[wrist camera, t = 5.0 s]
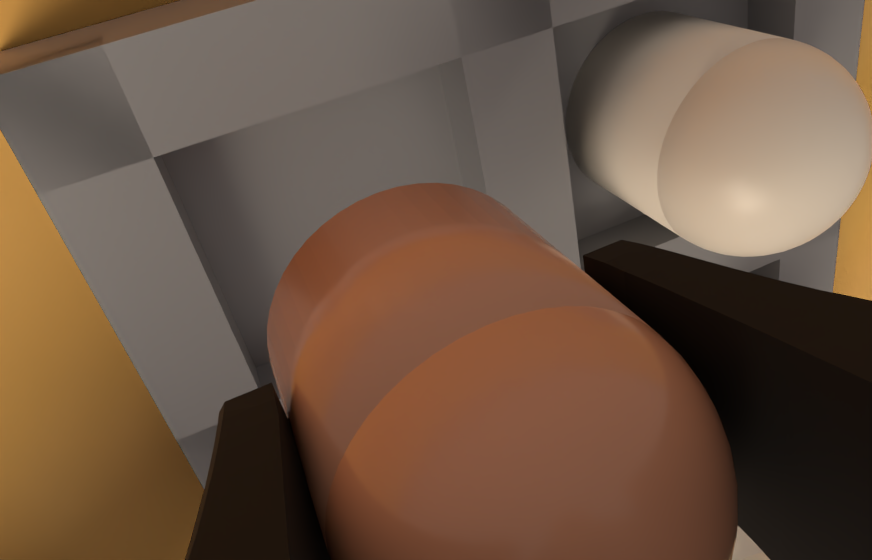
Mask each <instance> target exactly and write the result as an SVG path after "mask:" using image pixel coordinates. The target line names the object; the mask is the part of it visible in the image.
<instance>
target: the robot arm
mask: <svg viewBox="0 0 872 560" xmlns="http://www.w3.org/2000/svg"><path fill="white" fill-rule="evenodd" d="M583 262H584V270H585V273H586V274H588V275H589V276H590V277H591V278H592V279H594V280H595V281H596V282H597V283H598V284H600V285H601V286H602V287H603V288H604V289H606V290H607V291H608V292H609V293H610V294H612V295H613V296H614V297H615V298H616V299H618V300H619V301H620V302H621V303H622V304H624V305H625V306H626V307H627V308H628V309H630V310H631V311H632V312H633V313H634V314H636V315H637V316H638V317H639V318H640V319H642V320H643V321H644V322H645V323H646V324H648V325H649V326H650V327H651V328H652V329H654V330H655V331H656V332H657V333H658V334H659V335H661V336H662V337H663V338H664V339H665V340H666V341H667V342H668V343H669V344H670V345H671V346H672V347H673V348H674V349H675V350H676V351H677V352H678V353H679V354H680V355H681V356H682V357H683V358H684V360H685V361H686V362H687V364H688V365H689V366H690V367H691V369H692V370H693V371H694V373H695V374H696V376H697V377H698V378H699V380H700V381H701V382H702V384H703V385H704V387H705V388H706V390H707V392H708V394H709V396H710V398H711V400H712V402H713V404H714V406H715V408H716V410H717V412H718V414H719V416H720V418H721V420H722V422H723V425H724V428H725V432H726V435H727V438H728V441H729V444H730V448H731V451H732V455H733V459H734V464H735V471H736V478H737V485H738V526H739V527H740V528H741V529H742V530H743V531H744V532H745V533H746V534H747V535H748V536H749V537H750V538H751V539H752V540H753V541H754V542H755V544H756V545H757V546H758V547H759V548H760V549H761V550H762V551H763V552H764V553H765V555H766V556H767V557H768V558H769V559H770V560H872V301H870V300H865V299H860V298H856V297H851V296H846V295H842V294H837V293H832V292H827V291H823V290H818V289H814V288H809V287H805V286H801V285H797V284H793V283H788V282H784V281H780V280H776V279H772V278H768V277H764V276H761V275H757V274H753V273H749V272H745V271H741V270H738V269H734V268H730V267H727V266H723V265H719V264H716V263H712V262H708V261H705V260H701V259H697V258H694V257H690V256H686V255H683V254H679V253H675V252H672V251H668V250H664V249H660V248H656V247H652V246H648V245H644V244H640V243H636V242H631V241H626V240H619V241H617V242H614V243H612V244H609V245H607V246H604V247H602V248H599V249H597V250H595V251H592V252H590V253H587V254H585V255H583ZM185 560H331V559H330V557H329V554H328V551H327V547H326V544H325V541H324V538H323V534H322V531H321V528H320V524H319V521H318V518H317V515H316V511H315V508H314V505H313V502H312V498H311V495H310V492H309V488H308V485H307V481H306V477H305V473H304V470H303V466H302V463H301V460H300V456H299V453H298V450H297V447H296V443H295V440H294V437H293V434H292V430H291V427H290V424H289V421H288V418H287V416H286V413H285V411H284V409H283V407H282V405H281V402H280V400H279V398H278V396H277V393H276V391H275V389H274V387H273V385H272V383H269V384H267V385H264V386H262V387H259V388H257V389H254V390H252V391H250V392H247V393H245V394H242V395H240V396H237V397H235V398H232V399H230V400H228V401H225V402H224V404H223V406H222V408H221V410H220V411H219V417H218V425H217V431H216V437H215V442H214V448H213V453H212V458H211V462H210V467H209V471H208V476H207V480H206V484H205V489H204V493H203V496H202V500H201V504H200V508H199V511H198V515H197V519H196V522H195V526H194V530H193V534H192V537H191V541H190V544H189V548H188V551H187V554H186V558H185Z"/></svg>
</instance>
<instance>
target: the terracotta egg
mask: <svg viewBox="0 0 872 560" xmlns="http://www.w3.org/2000/svg"><path fill="white" fill-rule="evenodd" d="M267 347H268V353H269V359H270V364H271V367H272V370H273V374H274V377H275V380H276V383H277V387H278V390H279V393H280V396H281V400H282V403H283V406H284V410H285V413H286V416H287V418H288V421H289V424H290V427H291V430H292V434H293V437H294V440H295V443H296V447H297V450H298V453H299V456H300V460H301V463H302V466H303V470H304V473H305V477H306V481H307V485H308V488H309V492H310V495H311V498H312V502H313V505H314V508H315V511H316V515H317V518H318V521H319V524H320V528H321V531H322V534H323V538H324V541H325V544H326V547H327V551H328V554H329V557H330V559H331V560H732V556H733V551H734V547H735V542H736V537H737V527H738V485H737V478H736V471H735V464H734V459H733V455H732V451H731V448H730V444H729V441H728V438H727V435H726V432H725V428H724V425H723V422H722V420H721V418H720V416H719V414H718V412H717V410H716V408H715V406H714V404H713V402H712V400H711V398H710V396H709V394H708V392H707V390H706V388H705V387H704V385H703V384H702V382H701V381H700V380H699V378H698V377H697V376H696V374H695V373H694V371H693V370H692V369H691V367H690V366H689V365H688V364H687V362H686V361H685V360H684V358H683V357H682V356H681V355H680V354H679V353H678V352H677V351H676V350H675V349H674V348H673V347H672V346H671V345H670V344H669V343H668V342H667V341H666V340H665V339H664V338H663V337H662V336H661V335H659V334H658V333H657V332H656V331H655V330H654V329H652V328H651V327H650V326H649V325H648V324H646V323H645V322H644V321H643V320H642V319H640V318H639V317H638V316H637V315H636V314H634V313H633V312H632V311H631V310H630V309H628V308H627V307H626V306H625V305H624V304H622V303H621V302H620V301H619V300H618V299H616V298H615V297H614V296H613V295H612V294H610V293H609V292H608V291H607V290H606V289H604V288H603V287H602V286H601V285H600V284H598V283H597V282H596V281H595V280H594V279H592V278H591V277H590V276H589V275H588V274H586V273H585V272H584V271H583V270H582V269H580V268H579V267H578V266H577V265H576V264H574V263H573V262H572V261H571V260H570V259H568V258H567V257H566V256H565V255H564V254H562V253H561V252H560V251H559V250H558V249H556V248H555V247H554V246H553V245H552V244H550V243H549V242H548V241H547V240H546V239H544V238H543V237H542V236H541V235H540V234H538V233H537V232H536V231H535V230H534V229H532V228H531V227H530V226H529V225H528V224H526V223H525V222H524V221H523V220H522V219H520V218H519V217H518V216H517V215H516V214H514V213H513V212H512V211H511V210H510V209H508V208H507V207H506V206H505V205H504V204H502V203H500V202H499V201H497V200H495V199H494V198H492V197H491V196H489V195H486V194H484V193H482V192H479V191H477V190H474V189H471V188H467V187H463V186H459V185H454V184H444V183H417V184H411V185H405V186H399V187H395V188H391V189H388V190H385V191H381V192H378V193H375V194H373V195H371V196H369V197H366V198H364V199H362V200H359V201H357V202H356V203H354V204H352V205H350V206H349V207H347V208H345V209H344V210H342V211H340V212H339V213H337V214H336V215H335V216H333V217H332V218H331V219H329V220H328V221H327V222H326V223H324V224H323V225H322V226H321V227H320V228H319V229H318V230H317V231H316V232H315V233H313V234H312V235H311V236H310V237H309V238H308V239H307V240H306V242H305V243H304V244H303V245H302V247H301V248H300V249H299V250H298V252H297V253H296V254H295V255H294V257H293V258H292V260H291V261H290V263H289V265H288V266H287V268H286V270H285V271H284V273H283V275H282V277H281V279H280V281H279V284H278V286H277V288H276V290H275V293H274V296H273V300H272V303H271V307H270V310H269V318H268V325H267Z"/></svg>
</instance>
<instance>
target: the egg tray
mask: <svg viewBox="0 0 872 560" xmlns="http://www.w3.org/2000/svg"><path fill="white" fill-rule="evenodd" d="M864 1H865V0H179V1H176V2H172V3H169V4H165V5H162V6H158V7H155V8H151V9H148V10H144V11H141V12H137V13H134V14H130V15H127V16H123V17H120V18H116V19H113V20H109V21H106V22H102V23H99V24H95V25H91V26H88V27H84V28H81V29H77V30H74V31H70V32H67V33H63V34H60V35H56V36H53V37H49V38H46V39H42V40H39V41H35V42H32V43H28V44H25V45H21V46H18V47H14V48H11V49H7V50H4V51H0V130H1V131H2V133H3V135H4V137H5V138H6V140H7V142H8V144H9V146H10V147H11V149H12V151H13V153H14V154H15V156H16V158H17V160H18V161H19V163H20V165H21V167H22V169H23V170H24V172H25V174H26V176H27V177H28V179H29V181H30V183H31V184H32V186H33V188H34V190H35V191H36V193H37V195H38V197H39V199H40V200H41V202H42V204H43V206H44V207H45V209H46V211H47V213H48V214H49V216H50V218H51V220H52V222H53V223H54V225H55V227H56V229H57V230H58V232H59V234H60V236H61V237H62V239H63V241H64V243H65V245H66V246H67V248H68V250H69V252H70V253H71V255H72V257H73V259H74V260H75V262H76V264H77V266H78V267H79V269H80V271H81V273H82V275H83V276H84V278H85V280H86V282H87V283H88V285H89V287H90V289H91V290H92V292H93V294H94V296H95V298H96V299H97V301H98V303H99V305H100V306H101V308H102V310H103V312H104V313H105V315H106V317H107V319H108V321H109V322H110V324H111V326H112V328H113V329H114V331H115V333H116V335H117V336H118V338H119V340H120V342H121V343H122V345H123V347H124V349H125V351H126V352H127V354H128V356H129V358H130V359H131V361H132V363H133V365H134V366H135V368H136V370H137V372H138V374H139V375H140V377H141V379H142V381H143V382H144V384H145V386H146V388H147V389H148V391H149V393H150V395H151V397H152V398H153V400H154V402H155V404H156V405H157V407H158V409H159V411H160V412H161V414H162V416H163V418H164V419H165V421H166V423H167V425H168V427H169V428H170V430H171V432H172V434H173V435H174V437H175V439H176V441H177V442H178V444H179V446H180V448H181V450H182V451H183V453H184V455H185V457H186V458H187V460H188V462H189V464H190V465H191V467H192V469H193V471H194V473H195V474H196V476H197V478H198V480H199V481H200V483H201V485H202V487H203V488H204V489H205V484H206V480H207V476H208V471H209V467H210V462H211V458H212V453H213V448H214V442H215V437H216V431H217V425H218V417H219V411H220V410H221V408H222V406H223V404H224V402H225V401H228V400H230V399H232V398H235V397H237V396H240V395H242V394H245V393H247V392H250V391H252V390H254V389H257V388H259V387H262V386H264V385H267V384H269V383H272V385H273V387H274V389H275V391H276V393H277V396H278V398H279V400H280V402H281V405H282V407H283V409H284V406H283V403H282V400H281V396H280V393H279V390H278V387H277V383H276V380H275V377H274V374H273V370H272V367H271V364H270V359H269V353H268V347H267V325H268V318H269V310H270V307H271V303H272V300H273V296H274V293H275V290H276V288H277V286H278V284H279V281H280V279H281V277H282V275H283V273H284V271H285V270H286V268H287V266H288V265H289V263H290V261H291V260H292V258H293V257H294V255H295V254H296V253H297V252H298V250H299V249H300V248H301V247H302V245H303V244H304V243H305V242H306V240H307V239H308V238H309V237H310V236H311V235H312V234H313V233H315V232H316V231H317V230H318V229H319V228H320V227H321V226H322V225H323V224H324V223H326V222H327V221H328V220H329V219H331V218H332V217H333V216H335V215H336V214H337V213H339V212H340V211H342V210H344V209H345V208H347V207H349V206H350V205H352V204H354V203H356V202H357V201H359V200H362V199H364V198H366V197H369V196H371V195H373V194H375V193H378V192H381V191H385V190H388V189H391V188H395V187H399V186H405V185H411V184H417V183H444V184H454V185H459V186H463V187H467V188H471V189H474V190H477V191H479V192H482V193H484V194H486V195H489V196H491V197H492V198H494V199H495V200H497V201H499V202H500V203H502V204H504V205H505V206H506V207H507V208H508V209H510V210H511V211H512V212H513V213H514V214H516V215H517V216H518V217H519V218H520V219H522V220H523V221H524V222H525V223H526V224H528V225H529V226H530V227H531V228H532V229H534V230H535V231H536V232H537V233H538V234H540V235H541V236H542V237H543V238H544V239H546V240H547V241H548V242H549V243H550V244H552V245H553V246H554V247H555V248H556V249H558V250H559V251H560V252H561V253H562V254H564V255H565V256H566V257H567V258H568V259H570V260H571V261H572V262H573V263H574V264H576V265H577V266H578V267H579V268H580V269H582V270H583V271H584V272H585V270H584V262H583V255H585V254H587V253H590V252H592V251H595V250H597V249H599V248H602V247H604V246H607V245H609V244H612V243H614V242H617V241H619V240H626V241H631V242H636V243H640V244H644V245H648V246H652V247H656V248H660V249H664V250H668V251H672V252H675V253H679V254H683V255H686V256H690V257H694V258H697V259H701V260H705V261H708V262H712V263H716V264H719V265H723V266H727V267H730V268H734V269H738V270H741V271H745V272H749V273H753V274H757V275H761V276H764V277H768V278H772V279H776V280H780V281H784V282H788V283H793V284H797V285H801V286H805V287H809V288H814V289H818V290H823V291H827V292H832V293H833V284H834V274H835V265H836V256H837V247H838V238H839V229H840V220H841V217H842V216H843V215H844V213H845V212H846V211H847V210H848V209H849V207H850V206H851V205H852V203H853V202H854V200H855V199H856V198H857V196H858V194H859V192H860V191H861V189H862V187H863V185H864V183H865V181H866V178H867V175H868V173H869V170H870V166H871V162H872V116H871V111H870V108H869V105H868V103H867V100H866V98H865V96H864V94H863V92H862V90H861V88H860V87H859V85H858V83H857V82H856V74H857V65H858V56H859V47H860V38H861V29H862V20H863V10H864ZM284 411H285V410H284ZM732 560H770V559H769V558H768V557H767V556H766V555H765V553H764V552H763V551H762V550H761V549H760V548H759V547H758V546H757V545H756V544H755V542H754V541H753V540H752V539H751V538H750V537H749V536H748V535H747V534H746V533H745V532H744V531H743V530H742V529H741V528H740V527H739V526H738V527H737V537H736V542H735V547H734V551H733V556H732Z"/></svg>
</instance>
